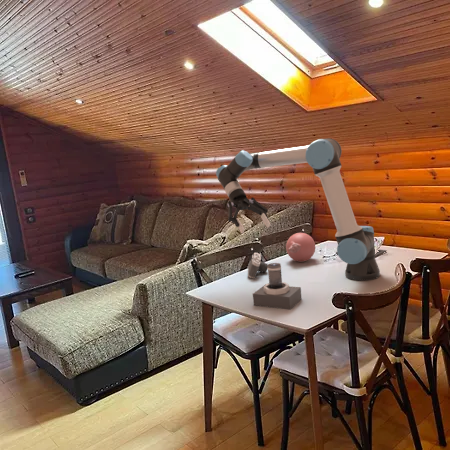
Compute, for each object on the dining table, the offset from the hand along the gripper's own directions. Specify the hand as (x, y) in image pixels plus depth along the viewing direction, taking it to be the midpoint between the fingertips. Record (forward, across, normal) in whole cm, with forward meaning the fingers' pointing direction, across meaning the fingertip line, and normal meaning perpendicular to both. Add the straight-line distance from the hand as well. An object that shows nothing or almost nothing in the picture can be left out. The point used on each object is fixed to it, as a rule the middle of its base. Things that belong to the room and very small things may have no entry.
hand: (256, 228), depth 197 cm
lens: (+29, +5, -2) cm, 30 cm away
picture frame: (+14, -70, -26) cm, 76 cm away
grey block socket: (+33, +5, -6) cm, 34 cm away
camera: (+5, -11, -34) cm, 36 cm away
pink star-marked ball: (+5, -38, -34) cm, 51 cm away
